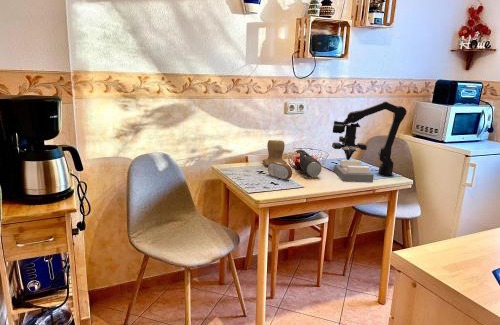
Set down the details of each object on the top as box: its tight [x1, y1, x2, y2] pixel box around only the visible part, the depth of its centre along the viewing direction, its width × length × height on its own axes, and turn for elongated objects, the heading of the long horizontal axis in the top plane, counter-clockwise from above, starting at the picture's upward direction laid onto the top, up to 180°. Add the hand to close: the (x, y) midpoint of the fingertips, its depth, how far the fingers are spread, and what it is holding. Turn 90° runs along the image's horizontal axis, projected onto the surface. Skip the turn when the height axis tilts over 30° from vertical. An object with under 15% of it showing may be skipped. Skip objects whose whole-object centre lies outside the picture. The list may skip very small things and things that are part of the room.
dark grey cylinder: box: [294, 149, 322, 178], centre depth 212 cm, size 10×28×10 cm, turn 8°
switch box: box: [333, 164, 375, 183], centre depth 208 cm, size 16×19×4 cm
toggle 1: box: [339, 159, 362, 167], centre depth 212 cm, size 11×3×3 cm, turn 93°
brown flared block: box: [262, 139, 287, 166], centre depth 225 cm, size 15×12×15 cm
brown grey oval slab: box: [267, 161, 293, 181], centre depth 199 cm, size 15×3×8 cm, turn 47°
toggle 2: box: [347, 165, 370, 173], centre depth 200 cm, size 11×3×3 cm, turn 93°
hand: (347, 160), depth 218 cm, fingers closed
